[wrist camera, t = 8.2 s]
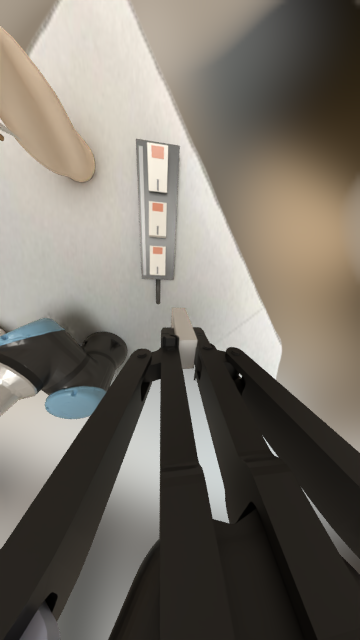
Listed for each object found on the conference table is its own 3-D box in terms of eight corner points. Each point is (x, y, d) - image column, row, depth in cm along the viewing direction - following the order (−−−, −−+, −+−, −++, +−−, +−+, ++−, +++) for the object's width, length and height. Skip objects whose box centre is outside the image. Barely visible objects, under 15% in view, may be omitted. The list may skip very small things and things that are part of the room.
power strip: (144, 303, 49) (142, 307, 46) (138, 148, 34) (135, 138, 31) (171, 303, 51) (172, 307, 47) (178, 154, 35) (179, 145, 32)
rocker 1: (149, 190, 34) (148, 190, 33) (147, 143, 30) (147, 142, 28) (166, 192, 35) (166, 192, 34) (167, 146, 30) (168, 145, 29)
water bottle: (101, 195, 37) (-29, 82, 12) (61, 190, 35) (-182, 50, 10) (95, 135, 32) (-135, -253, 7) (49, 127, 31) (-423, -377, 6)
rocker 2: (149, 236, 37) (148, 234, 35) (149, 204, 35) (148, 200, 34) (165, 238, 37) (166, 236, 36) (166, 206, 36) (166, 202, 34)
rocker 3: (150, 275, 40) (149, 274, 39) (150, 247, 39) (149, 245, 38) (165, 275, 41) (165, 275, 39) (165, 248, 40) (165, 246, 38)
